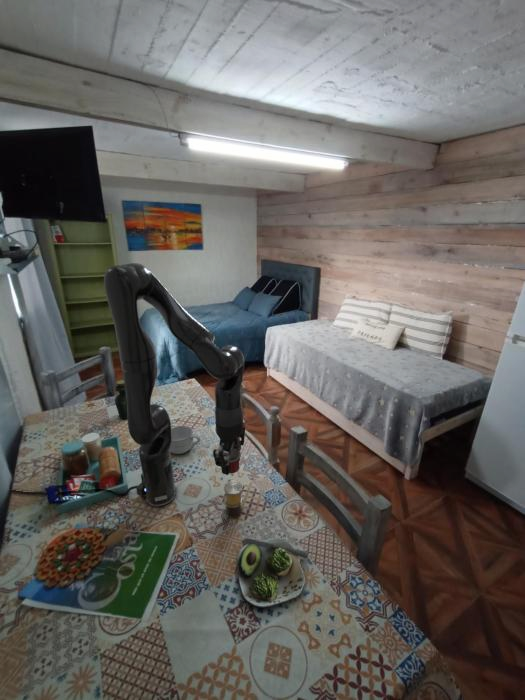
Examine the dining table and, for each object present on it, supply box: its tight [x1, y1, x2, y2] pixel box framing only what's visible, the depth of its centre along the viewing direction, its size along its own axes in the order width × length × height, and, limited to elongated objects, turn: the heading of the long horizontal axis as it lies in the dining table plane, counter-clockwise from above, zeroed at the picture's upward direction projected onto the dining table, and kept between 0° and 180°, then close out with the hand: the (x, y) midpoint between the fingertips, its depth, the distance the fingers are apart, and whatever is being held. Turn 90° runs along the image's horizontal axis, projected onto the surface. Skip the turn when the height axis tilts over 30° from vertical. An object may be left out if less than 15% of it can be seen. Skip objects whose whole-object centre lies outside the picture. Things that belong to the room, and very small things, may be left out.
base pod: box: [223, 495, 243, 518], centre depth 99 cm, size 6×6×5 cm
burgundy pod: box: [224, 448, 242, 475], centre depth 91 cm, size 6×6×5 cm
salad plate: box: [235, 537, 309, 609], centre depth 82 cm, size 19×18×5 cm
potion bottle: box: [114, 379, 128, 420], centre depth 147 cm, size 8×8×18 cm
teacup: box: [170, 425, 201, 455], centre depth 126 cm, size 14×11×8 cm
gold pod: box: [223, 479, 243, 505], centre depth 97 cm, size 6×6×5 cm
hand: (231, 466), depth 92 cm, fingers closed on burgundy pod, 5 cm apart
